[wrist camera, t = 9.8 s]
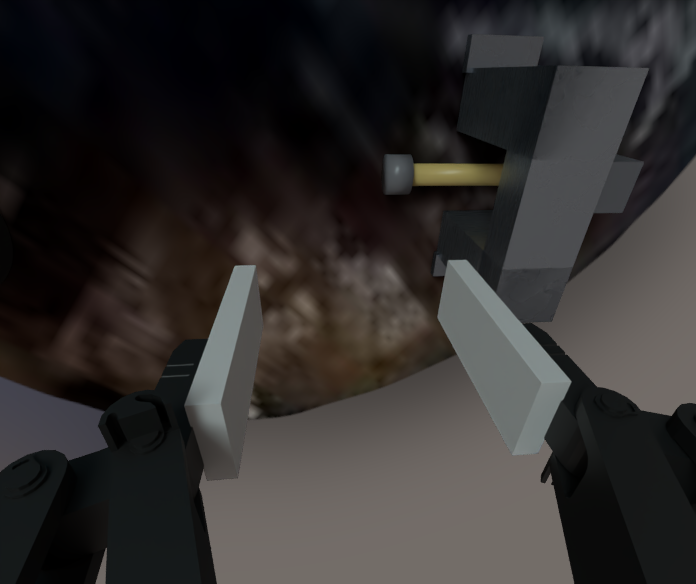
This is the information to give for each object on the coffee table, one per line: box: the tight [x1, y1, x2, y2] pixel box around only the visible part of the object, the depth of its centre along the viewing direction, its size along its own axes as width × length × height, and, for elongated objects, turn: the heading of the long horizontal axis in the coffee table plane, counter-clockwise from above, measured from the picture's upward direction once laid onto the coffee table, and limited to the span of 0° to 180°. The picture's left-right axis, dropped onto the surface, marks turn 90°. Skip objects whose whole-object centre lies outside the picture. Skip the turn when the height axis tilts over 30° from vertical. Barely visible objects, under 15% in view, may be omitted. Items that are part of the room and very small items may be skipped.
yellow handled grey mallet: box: [382, 154, 644, 213], centre depth 30 cm, size 19×4×6 cm, turn 89°
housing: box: [431, 34, 649, 323], centre depth 28 cm, size 6×20×12 cm, turn 179°
